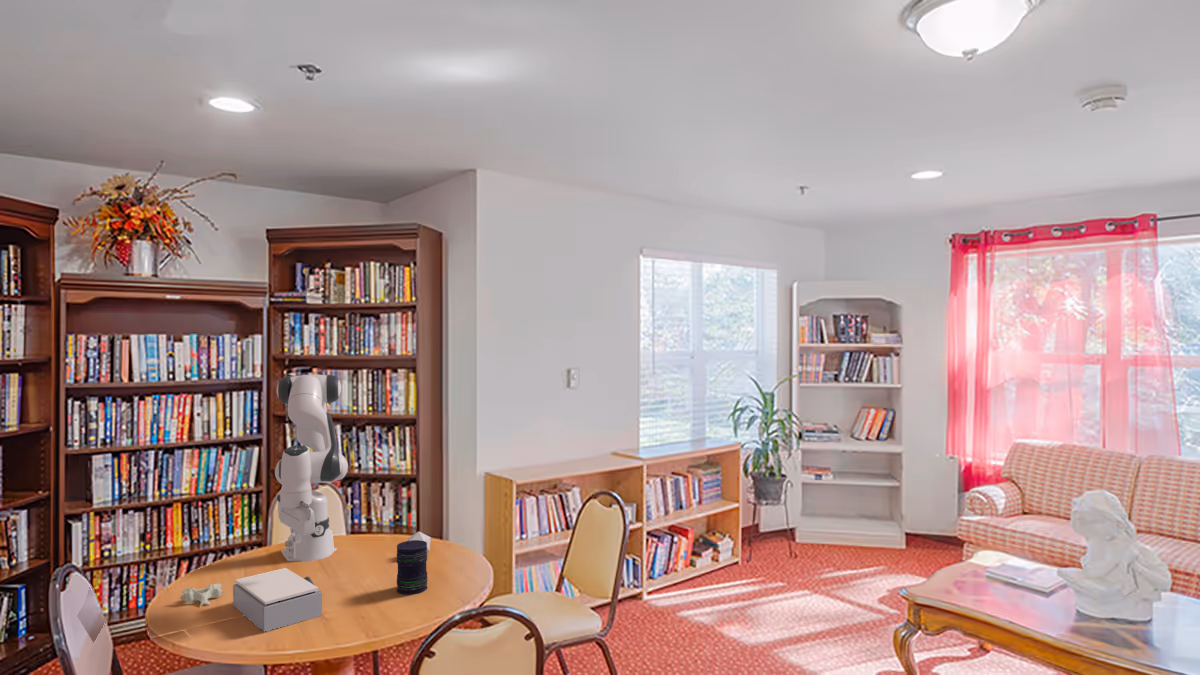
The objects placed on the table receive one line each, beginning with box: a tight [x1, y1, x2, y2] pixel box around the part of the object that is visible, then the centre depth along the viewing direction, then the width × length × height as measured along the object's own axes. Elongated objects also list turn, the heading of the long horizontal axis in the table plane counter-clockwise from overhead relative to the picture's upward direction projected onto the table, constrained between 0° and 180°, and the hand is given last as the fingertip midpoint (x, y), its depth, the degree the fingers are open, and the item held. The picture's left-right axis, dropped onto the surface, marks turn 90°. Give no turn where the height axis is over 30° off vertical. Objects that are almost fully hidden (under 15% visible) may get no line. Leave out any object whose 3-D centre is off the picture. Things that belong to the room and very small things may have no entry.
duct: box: [232, 583, 323, 633], centre depth 207 cm, size 26×16×7 cm, turn 46°
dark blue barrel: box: [396, 540, 428, 596], centre depth 224 cm, size 10×10×15 cm
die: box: [407, 531, 432, 553], centre depth 257 cm, size 8×9×10 cm
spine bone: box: [179, 583, 224, 607], centre depth 214 cm, size 12×10×5 cm
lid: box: [234, 567, 320, 605], centre depth 207 cm, size 26×15×1 cm, turn 46°
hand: (296, 542), depth 214 cm, fingers closed
